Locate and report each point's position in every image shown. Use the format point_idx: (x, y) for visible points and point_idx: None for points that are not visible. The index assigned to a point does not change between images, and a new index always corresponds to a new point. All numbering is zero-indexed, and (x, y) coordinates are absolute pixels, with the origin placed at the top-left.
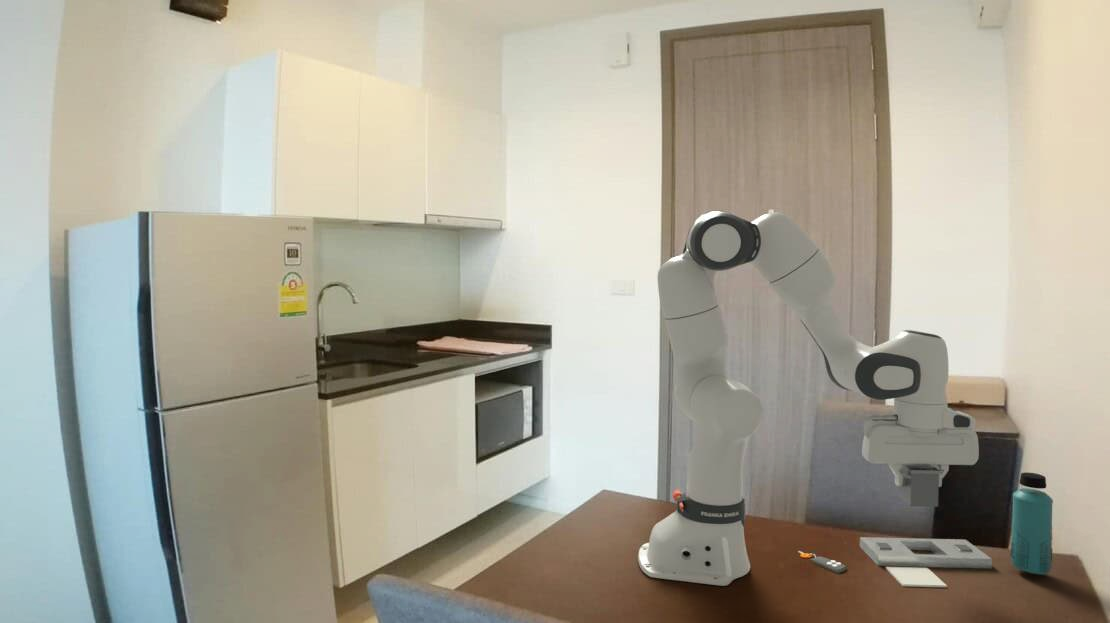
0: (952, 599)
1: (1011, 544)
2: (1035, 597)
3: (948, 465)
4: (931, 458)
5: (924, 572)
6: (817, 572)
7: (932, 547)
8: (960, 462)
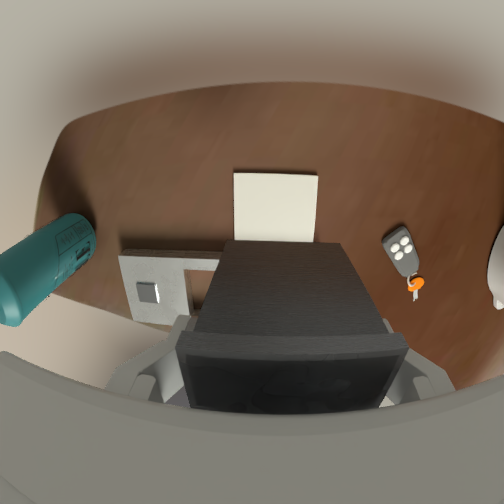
0: (247, 128)
1: (79, 258)
2: (106, 155)
3: (105, 389)
4: (223, 453)
5: (250, 223)
6: (429, 229)
7: (191, 308)
8: (37, 376)
